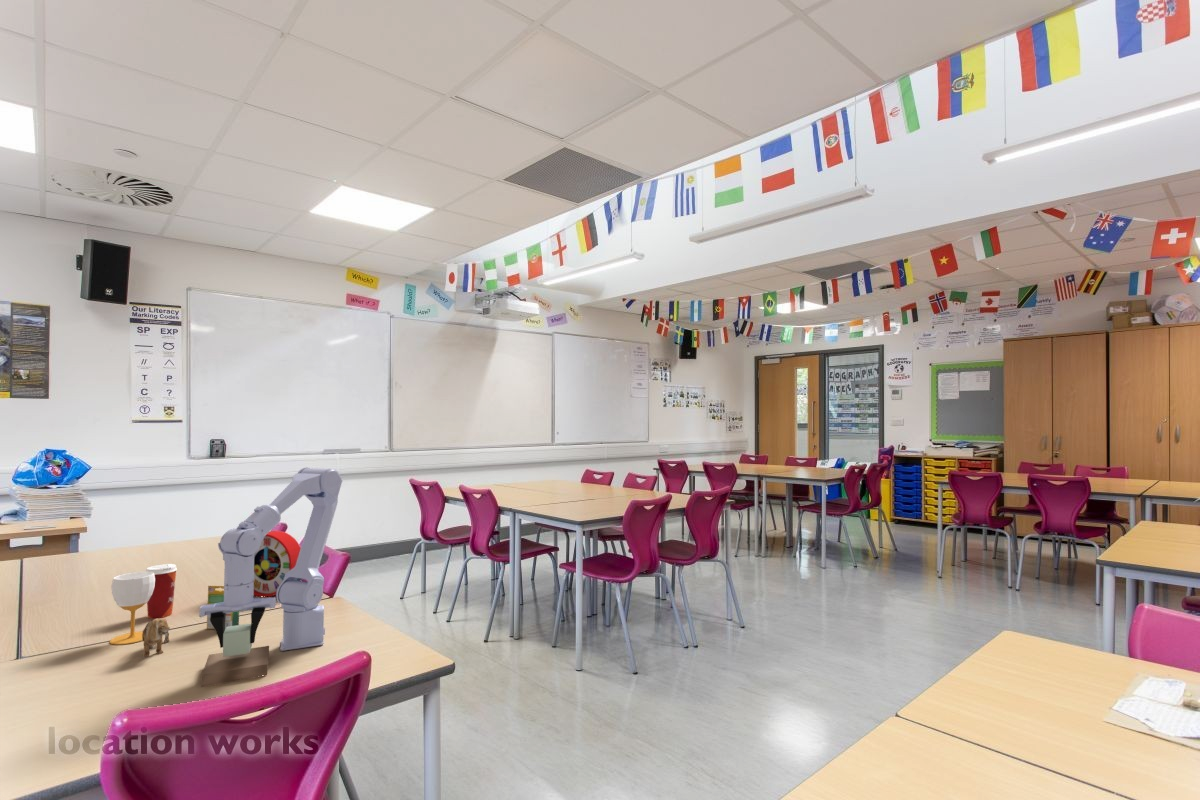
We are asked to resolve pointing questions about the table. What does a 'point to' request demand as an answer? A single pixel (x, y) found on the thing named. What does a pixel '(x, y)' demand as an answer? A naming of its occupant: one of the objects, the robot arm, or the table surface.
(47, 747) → the table surface
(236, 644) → the sage cube
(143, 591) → the cup
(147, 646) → the tan animal figurine
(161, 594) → the paper cup
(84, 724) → the table surface
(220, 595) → the crayon box
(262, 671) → the walnut block
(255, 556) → the toy clock
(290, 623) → the robot arm
